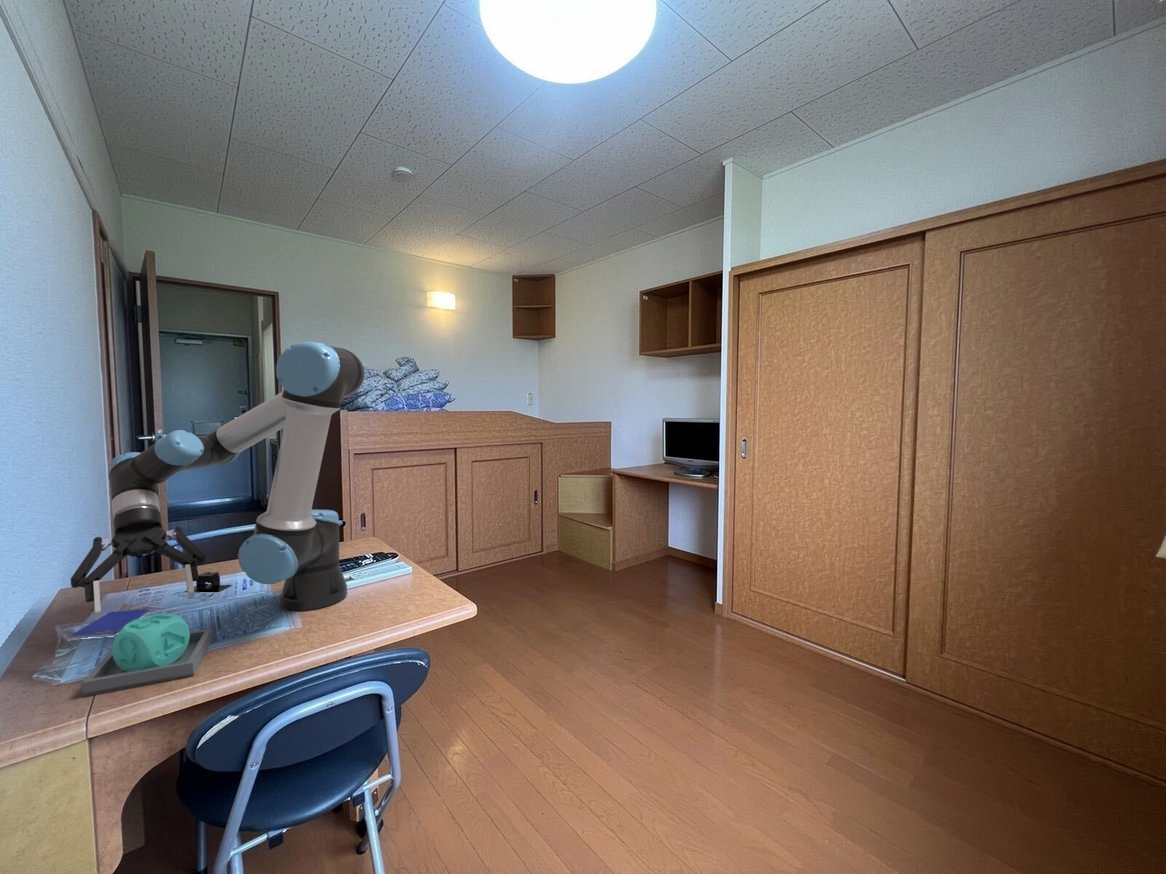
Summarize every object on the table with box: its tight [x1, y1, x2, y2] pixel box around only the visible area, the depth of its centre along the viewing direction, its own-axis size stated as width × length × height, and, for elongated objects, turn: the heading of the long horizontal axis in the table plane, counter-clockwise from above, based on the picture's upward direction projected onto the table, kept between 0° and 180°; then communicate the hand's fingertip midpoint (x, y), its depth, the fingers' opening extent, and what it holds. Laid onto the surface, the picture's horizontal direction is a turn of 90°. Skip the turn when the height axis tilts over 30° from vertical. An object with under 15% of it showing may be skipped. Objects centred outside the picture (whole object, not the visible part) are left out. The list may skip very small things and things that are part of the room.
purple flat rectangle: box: [66, 608, 151, 641], centre depth 107 cm, size 2×8×12 cm
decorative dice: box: [111, 612, 191, 672], centre depth 91 cm, size 8×8×8 cm
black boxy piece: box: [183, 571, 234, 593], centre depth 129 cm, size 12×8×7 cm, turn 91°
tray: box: [81, 628, 213, 698], centre depth 92 cm, size 15×15×2 cm
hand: (147, 604), depth 94 cm, fingers open, 13 cm apart
